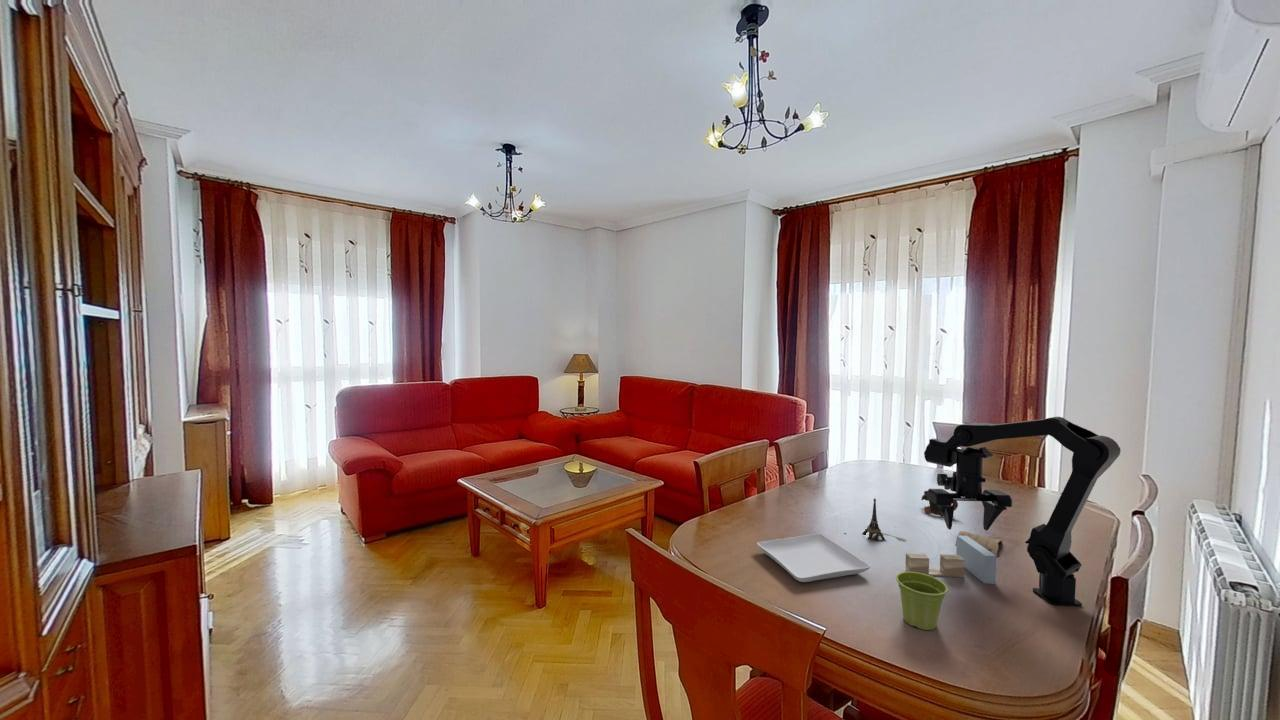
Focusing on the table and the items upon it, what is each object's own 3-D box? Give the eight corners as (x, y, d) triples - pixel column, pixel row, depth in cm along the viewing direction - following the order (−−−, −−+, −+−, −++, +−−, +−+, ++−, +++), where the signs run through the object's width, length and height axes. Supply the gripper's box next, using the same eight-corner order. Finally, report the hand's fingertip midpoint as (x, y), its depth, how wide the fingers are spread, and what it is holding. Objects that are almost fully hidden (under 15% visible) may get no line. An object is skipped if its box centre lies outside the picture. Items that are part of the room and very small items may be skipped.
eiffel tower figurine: (908, 542, 144) (909, 497, 143) (894, 552, 137) (895, 505, 137) (858, 527, 155) (859, 485, 155) (842, 535, 149) (843, 492, 148)
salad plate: (798, 591, 116) (798, 577, 116) (754, 552, 137) (754, 540, 136) (872, 579, 122) (873, 565, 122) (820, 544, 142) (820, 532, 142)
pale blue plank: (995, 584, 119) (996, 556, 119) (984, 583, 119) (985, 555, 119) (966, 561, 131) (967, 535, 131) (956, 560, 131) (956, 535, 131)
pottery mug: (914, 512, 168) (915, 488, 171) (930, 520, 172) (930, 497, 175) (951, 514, 158) (951, 489, 161) (967, 522, 162) (967, 497, 165)
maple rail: (964, 577, 122) (964, 559, 122) (910, 575, 123) (910, 557, 123) (958, 572, 125) (958, 554, 124) (905, 570, 126) (905, 553, 125)
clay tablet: (997, 560, 132) (997, 550, 132) (953, 549, 139) (953, 540, 139) (1003, 543, 143) (1003, 534, 143) (962, 533, 150) (962, 525, 150)
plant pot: (927, 609, 108) (929, 571, 107) (956, 635, 98) (958, 593, 98) (886, 610, 108) (887, 571, 107) (911, 636, 98) (912, 594, 98)
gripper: (987, 463, 135) (985, 519, 136) (917, 462, 136) (915, 517, 137) (1014, 475, 124) (1012, 535, 125) (938, 473, 125) (936, 533, 126)
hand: (967, 529), depth 128 cm, fingers open, 9 cm apart
